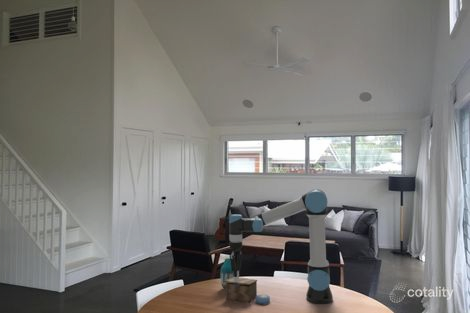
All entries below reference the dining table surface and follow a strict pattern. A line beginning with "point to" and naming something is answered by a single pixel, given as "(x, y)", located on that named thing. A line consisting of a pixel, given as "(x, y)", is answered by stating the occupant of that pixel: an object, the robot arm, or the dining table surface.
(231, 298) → the box
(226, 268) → the vase
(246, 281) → the lid
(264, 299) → the blue beige round disc
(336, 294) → the dining table surface
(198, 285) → the dining table surface
